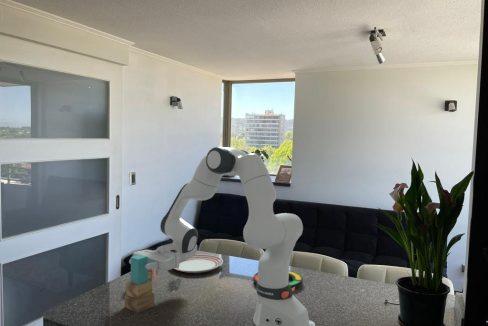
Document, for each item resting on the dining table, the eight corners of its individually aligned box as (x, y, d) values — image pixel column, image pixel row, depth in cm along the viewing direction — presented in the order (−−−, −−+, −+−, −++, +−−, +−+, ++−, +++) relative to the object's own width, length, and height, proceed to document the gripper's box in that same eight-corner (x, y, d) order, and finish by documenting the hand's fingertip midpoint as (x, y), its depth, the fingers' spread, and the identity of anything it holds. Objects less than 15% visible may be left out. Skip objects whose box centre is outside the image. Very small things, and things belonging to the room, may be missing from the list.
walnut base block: (154, 306, 149) (154, 293, 149) (137, 313, 142) (137, 300, 142) (141, 300, 153) (141, 288, 153) (124, 307, 147) (124, 295, 147)
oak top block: (152, 293, 148) (152, 281, 148) (137, 299, 143) (137, 286, 143) (140, 289, 153) (140, 277, 152) (126, 295, 147) (126, 282, 147)
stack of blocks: (146, 269, 192) (146, 245, 191) (159, 269, 192) (159, 245, 192) (138, 285, 170) (138, 258, 170) (152, 284, 171) (152, 258, 170)
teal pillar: (147, 281, 148) (147, 256, 147) (138, 285, 144) (138, 259, 144) (140, 278, 151) (140, 254, 150) (130, 282, 147) (130, 257, 146)
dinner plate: (163, 276, 182) (164, 269, 182) (176, 258, 209) (176, 253, 209) (220, 277, 181) (220, 270, 181) (225, 260, 208) (225, 254, 208)
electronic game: (307, 279, 180) (307, 269, 180) (295, 297, 159) (295, 286, 159) (262, 272, 189) (262, 263, 189) (245, 288, 168) (245, 278, 168)
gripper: (148, 244, 164) (121, 251, 152) (181, 253, 151) (154, 261, 140) (148, 258, 164) (121, 266, 153) (181, 268, 152) (154, 278, 141)
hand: (137, 264), depth 146 cm, fingers open, 8 cm apart
